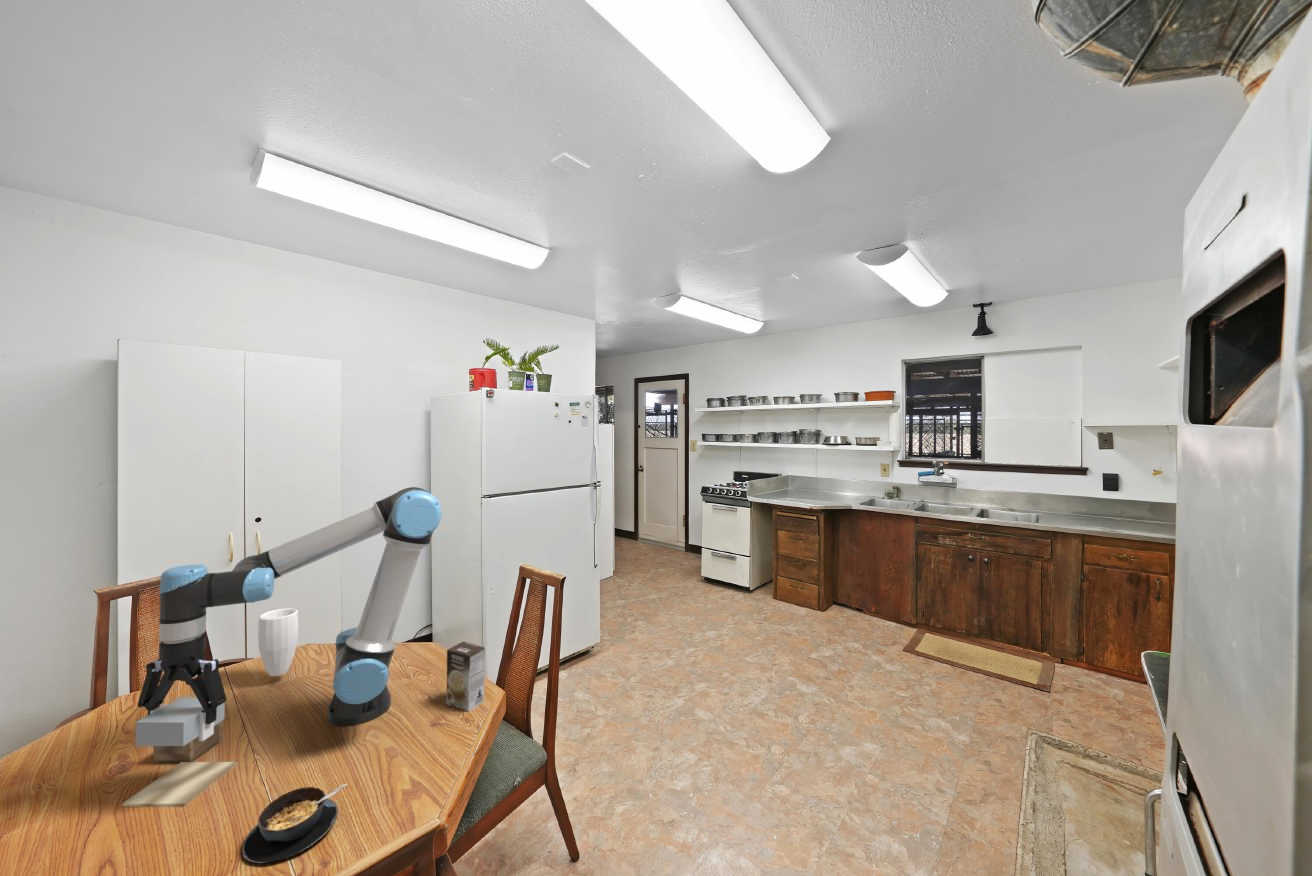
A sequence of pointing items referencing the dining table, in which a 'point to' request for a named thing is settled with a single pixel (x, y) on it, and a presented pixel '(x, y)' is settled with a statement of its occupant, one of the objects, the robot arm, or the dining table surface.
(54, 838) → the dining table surface
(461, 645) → the coffee box
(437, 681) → the dining table surface
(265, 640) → the cup
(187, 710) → the grey cover
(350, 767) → the dining table surface
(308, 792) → the soup bowl
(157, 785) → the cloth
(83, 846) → the dining table surface
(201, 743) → the walnut dish
